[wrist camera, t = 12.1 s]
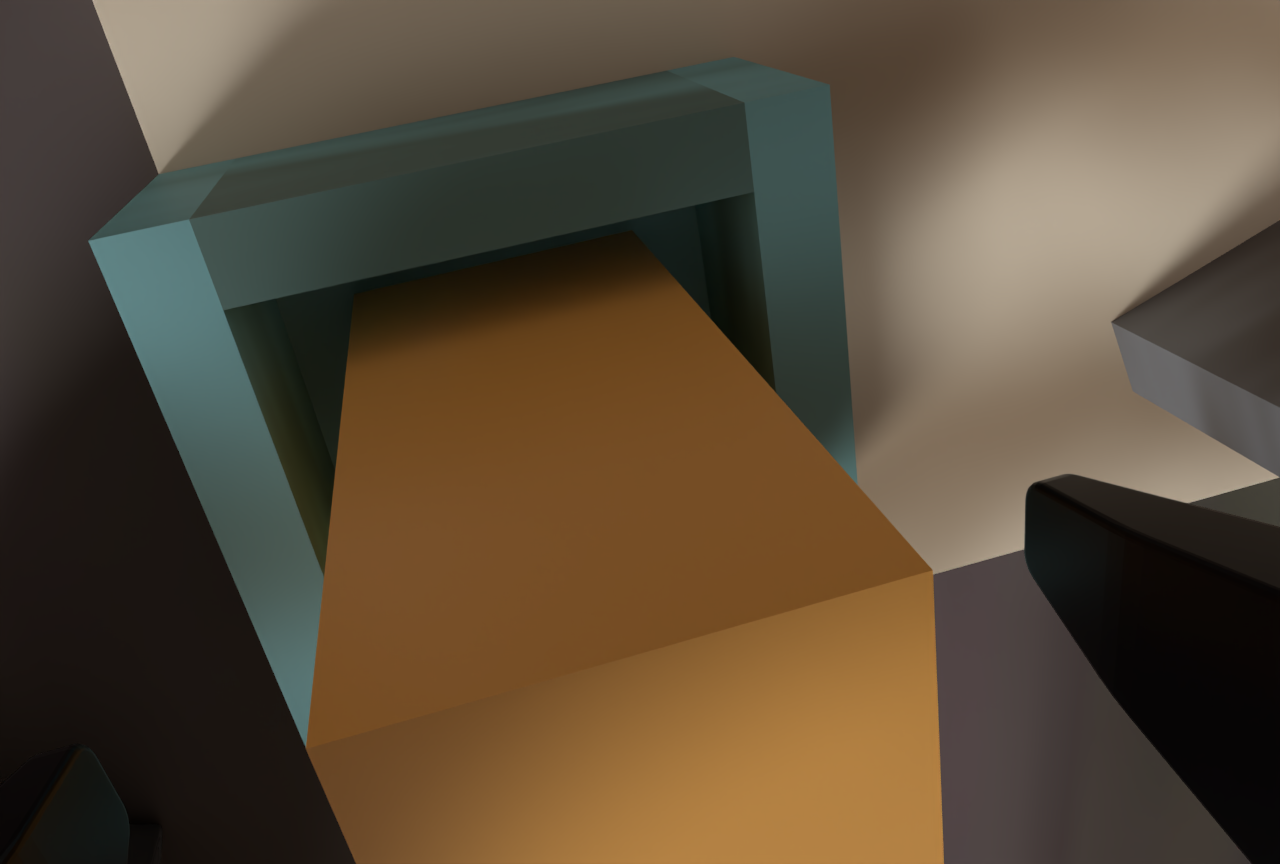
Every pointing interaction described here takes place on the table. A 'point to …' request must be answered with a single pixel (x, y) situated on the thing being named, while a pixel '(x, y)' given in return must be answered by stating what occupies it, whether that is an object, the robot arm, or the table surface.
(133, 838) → the game console
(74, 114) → the table surface
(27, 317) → the table surface
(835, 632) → the plug block
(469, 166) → the board
